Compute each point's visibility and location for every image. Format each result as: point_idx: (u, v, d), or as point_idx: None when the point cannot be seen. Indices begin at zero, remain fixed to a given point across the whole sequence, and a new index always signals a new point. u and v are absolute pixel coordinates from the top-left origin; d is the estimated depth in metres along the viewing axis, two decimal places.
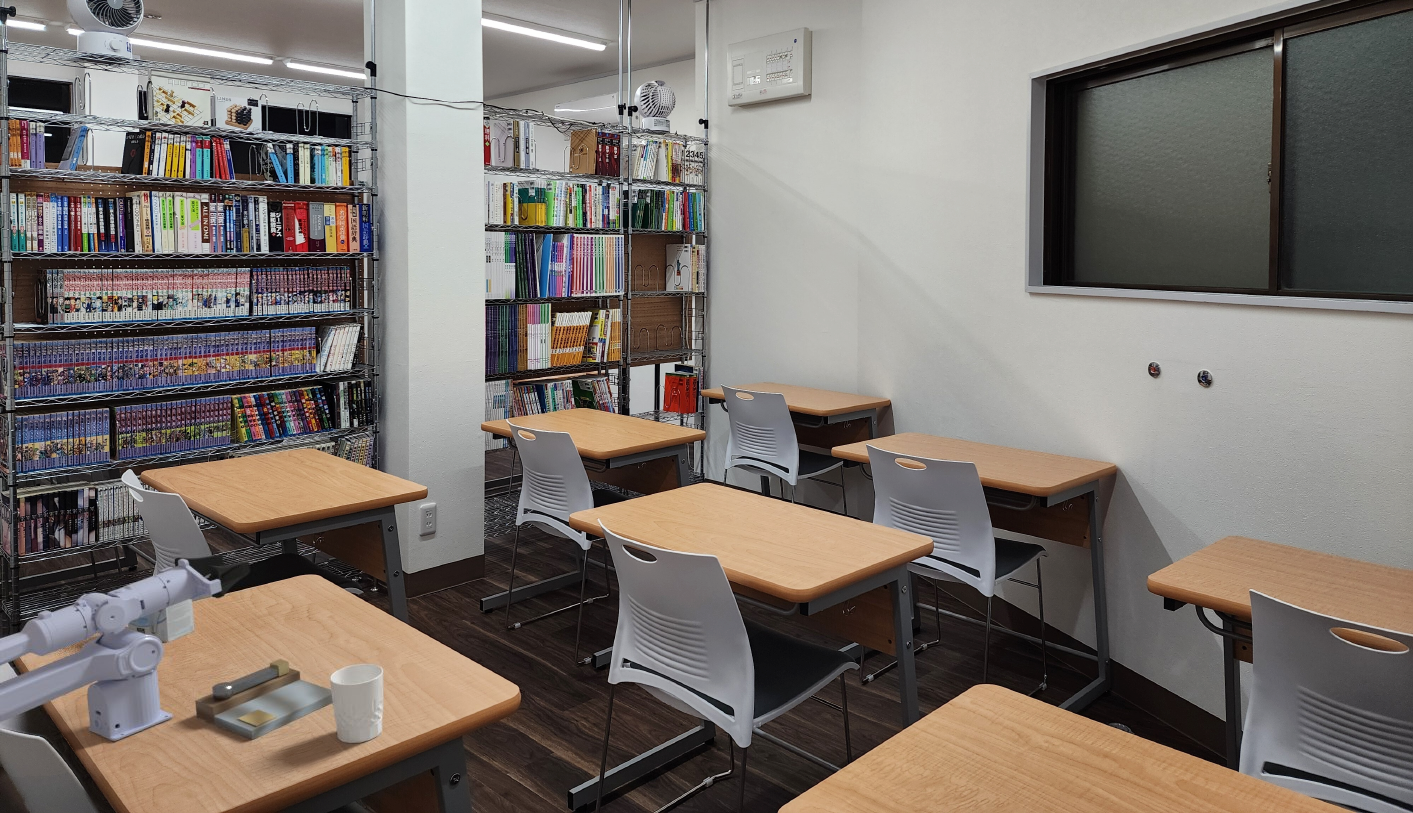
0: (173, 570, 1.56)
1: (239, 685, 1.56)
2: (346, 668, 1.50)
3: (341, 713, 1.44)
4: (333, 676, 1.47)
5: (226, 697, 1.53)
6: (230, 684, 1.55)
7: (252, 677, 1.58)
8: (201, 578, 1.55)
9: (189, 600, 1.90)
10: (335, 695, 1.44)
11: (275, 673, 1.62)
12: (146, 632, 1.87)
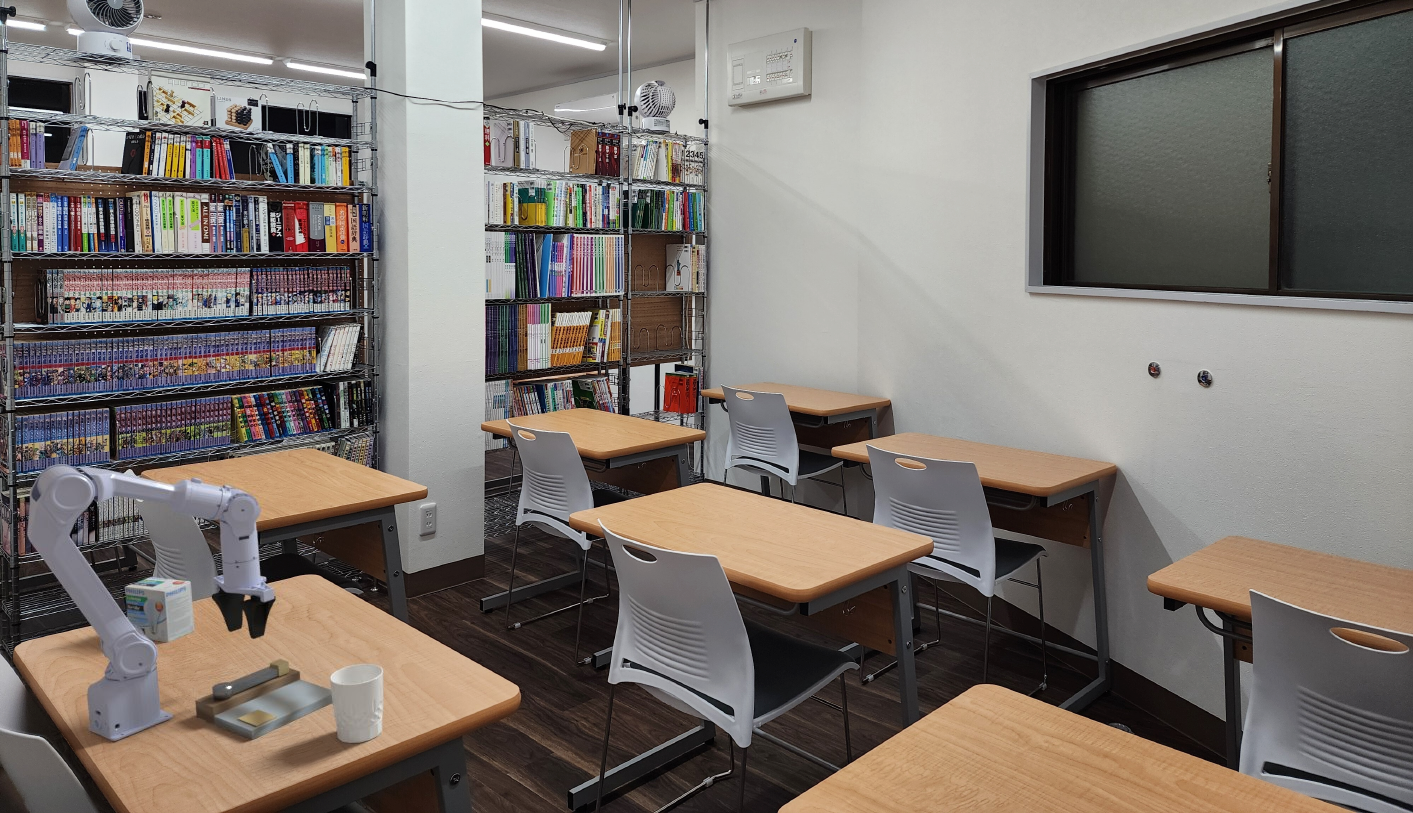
0: None
1: (239, 685, 1.56)
2: (346, 668, 1.50)
3: (341, 713, 1.44)
4: (333, 676, 1.47)
5: (226, 697, 1.53)
6: (230, 684, 1.55)
7: (252, 677, 1.58)
8: (267, 586, 1.60)
9: (189, 600, 1.90)
10: (335, 695, 1.44)
11: (275, 673, 1.62)
12: (146, 632, 1.87)
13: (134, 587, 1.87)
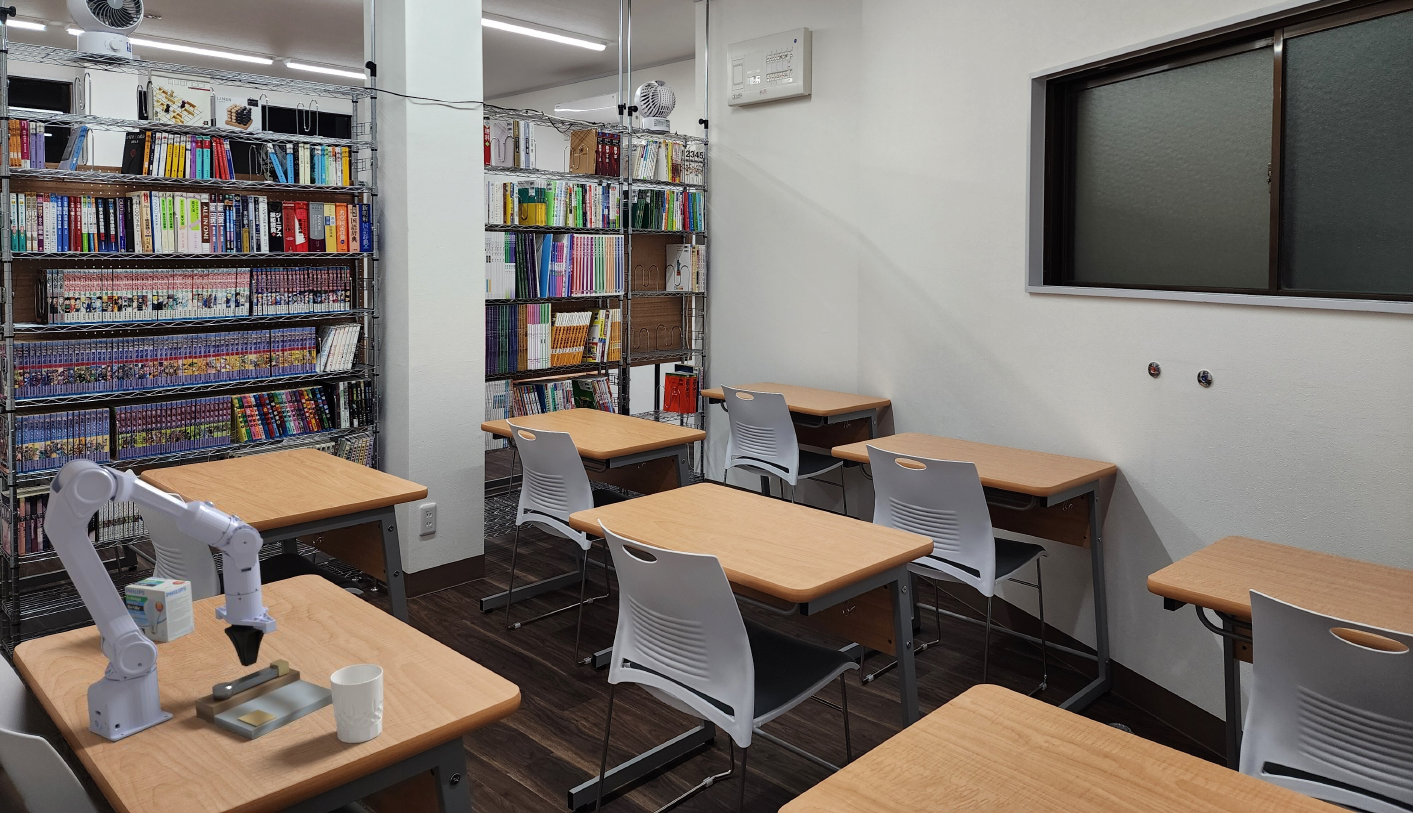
0: None
1: (239, 685, 1.56)
2: (346, 668, 1.50)
3: (341, 713, 1.44)
4: (333, 676, 1.47)
5: (226, 697, 1.53)
6: (230, 684, 1.55)
7: (252, 677, 1.58)
8: (270, 617, 1.61)
9: (189, 600, 1.90)
10: (335, 695, 1.44)
11: (275, 673, 1.62)
12: (146, 632, 1.87)
13: (134, 587, 1.87)
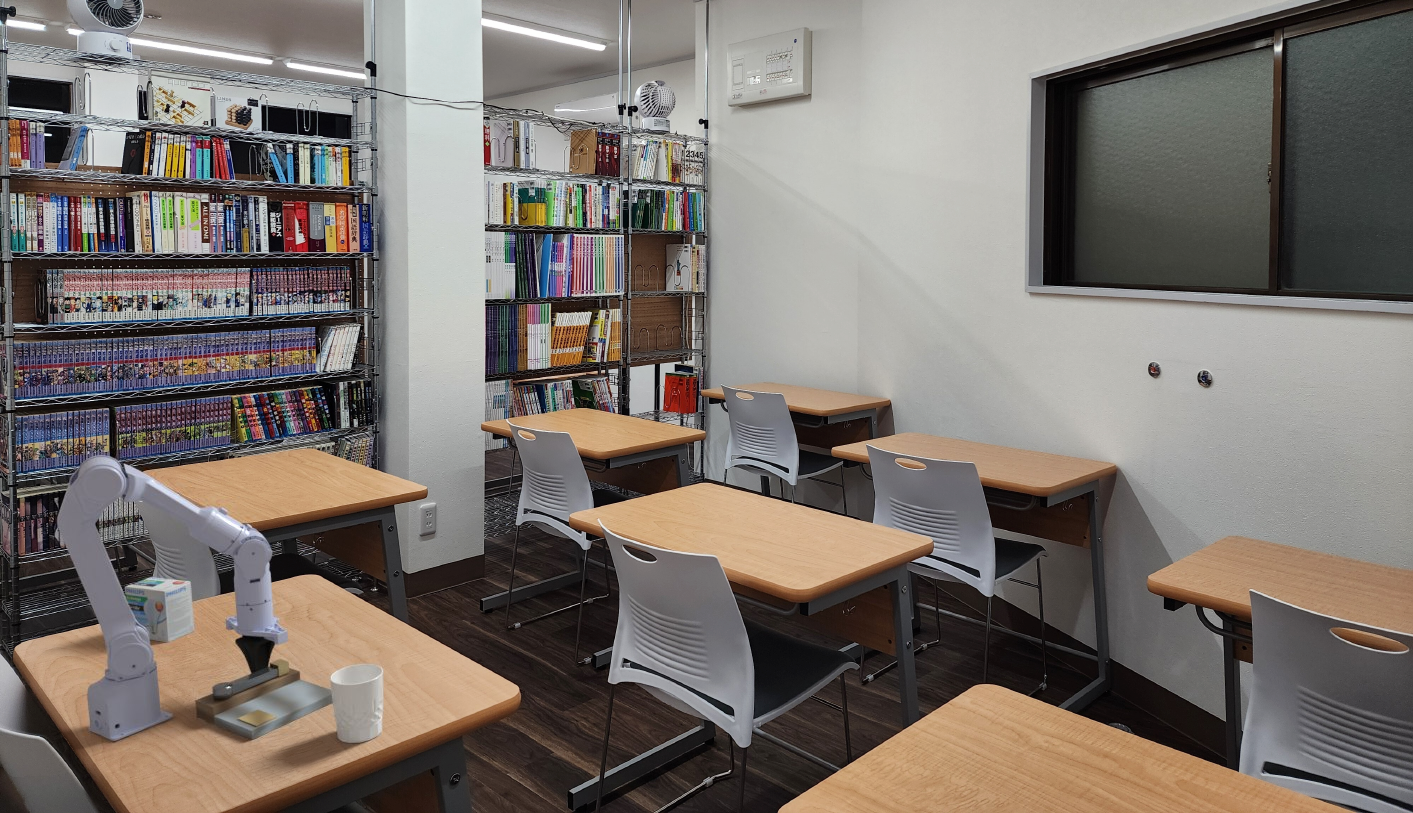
0: None
1: (239, 685, 1.56)
2: (346, 668, 1.50)
3: (341, 713, 1.44)
4: (333, 676, 1.47)
5: (226, 697, 1.53)
6: (230, 684, 1.55)
7: (252, 677, 1.58)
8: None
9: (189, 600, 1.90)
10: (335, 695, 1.44)
11: (275, 673, 1.62)
12: None
13: (134, 587, 1.87)
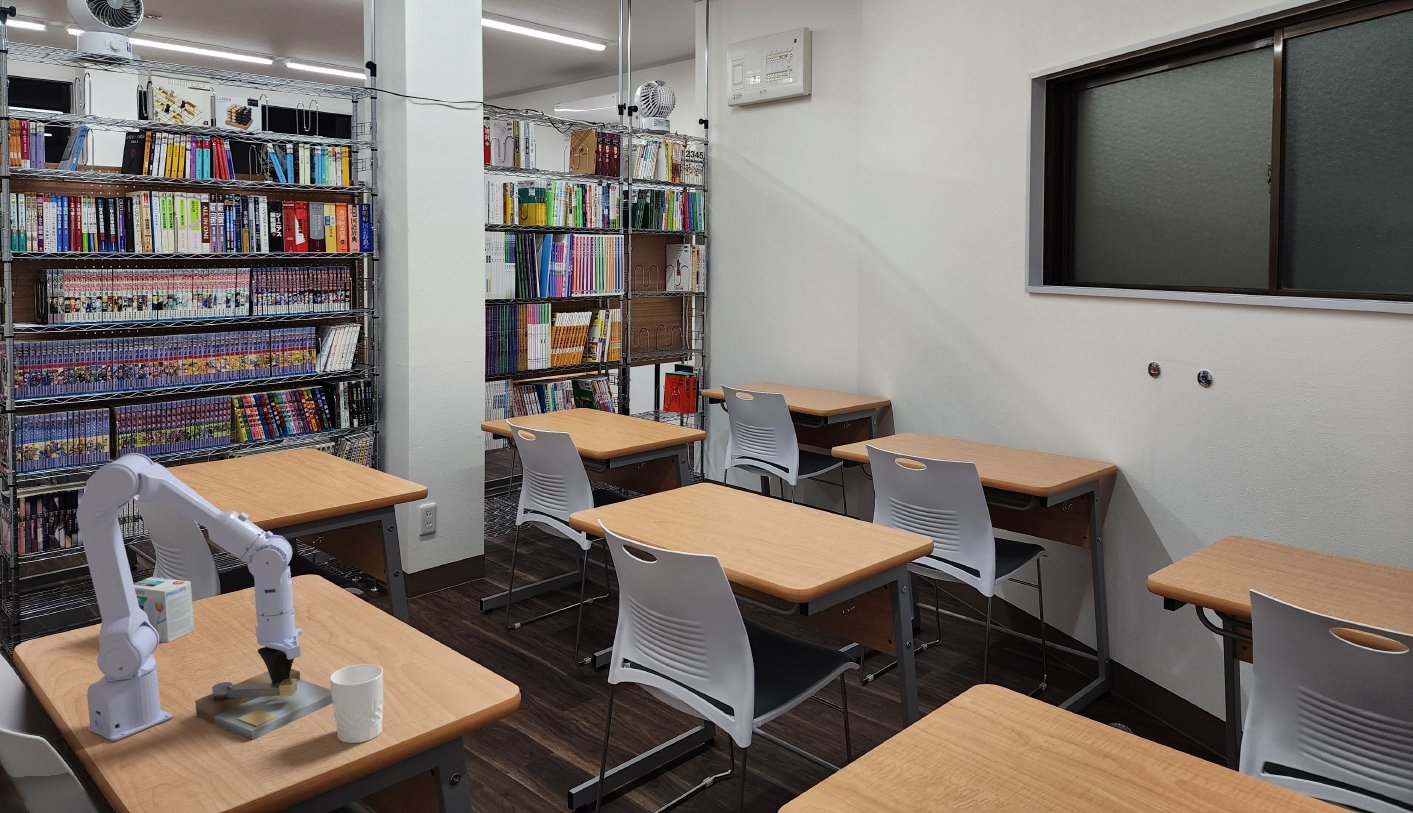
0: None
1: (235, 691, 1.54)
2: (346, 668, 1.50)
3: (341, 713, 1.44)
4: (333, 676, 1.47)
5: (217, 698, 1.53)
6: (227, 687, 1.54)
7: (252, 687, 1.54)
8: (297, 641, 1.54)
9: (189, 600, 1.90)
10: (335, 695, 1.44)
11: (277, 692, 1.54)
12: None
13: (134, 587, 1.87)
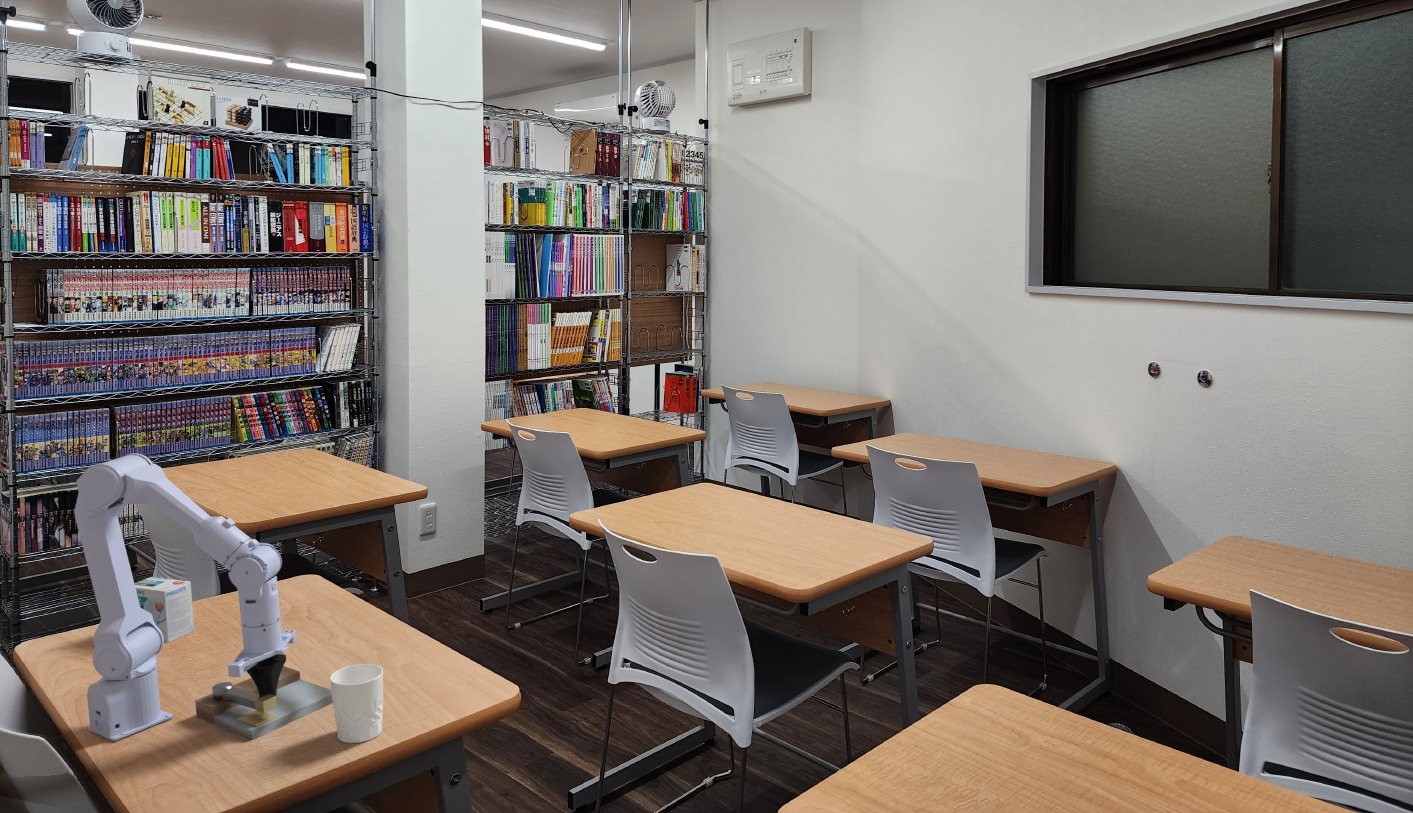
0: (277, 638, 1.50)
1: (226, 695, 1.52)
2: (346, 668, 1.50)
3: (341, 713, 1.44)
4: (333, 676, 1.47)
5: (213, 697, 1.53)
6: (223, 688, 1.53)
7: (239, 695, 1.52)
8: (252, 660, 1.46)
9: (189, 600, 1.90)
10: (335, 695, 1.44)
11: (254, 705, 1.50)
12: None
13: None
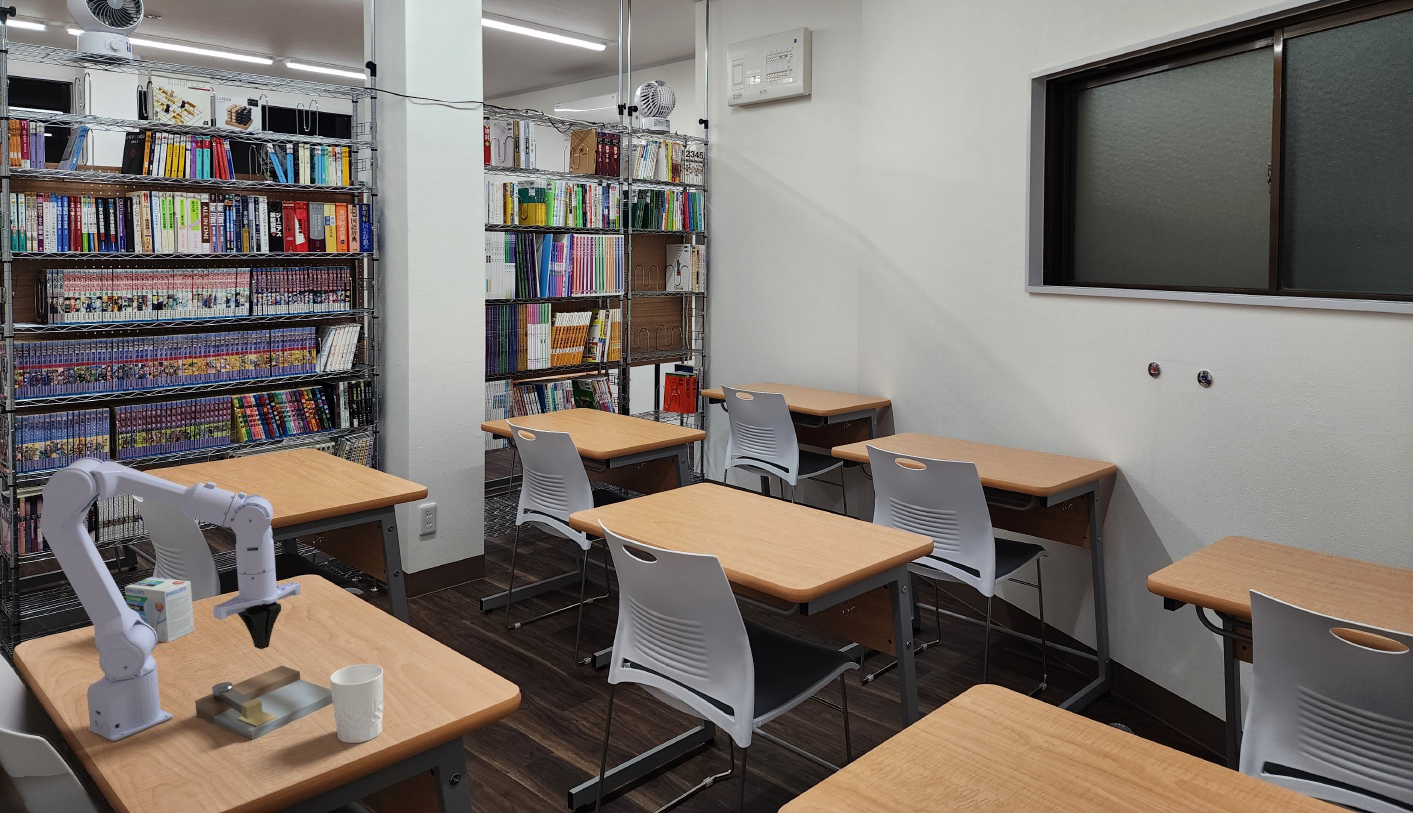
0: (266, 588, 1.54)
1: (222, 695, 1.52)
2: (346, 668, 1.50)
3: (341, 713, 1.44)
4: (333, 676, 1.47)
5: (213, 697, 1.54)
6: (221, 689, 1.53)
7: (232, 697, 1.51)
8: (236, 606, 1.51)
9: (189, 600, 1.90)
10: (335, 695, 1.44)
11: (241, 710, 1.48)
12: None
13: (134, 587, 1.87)
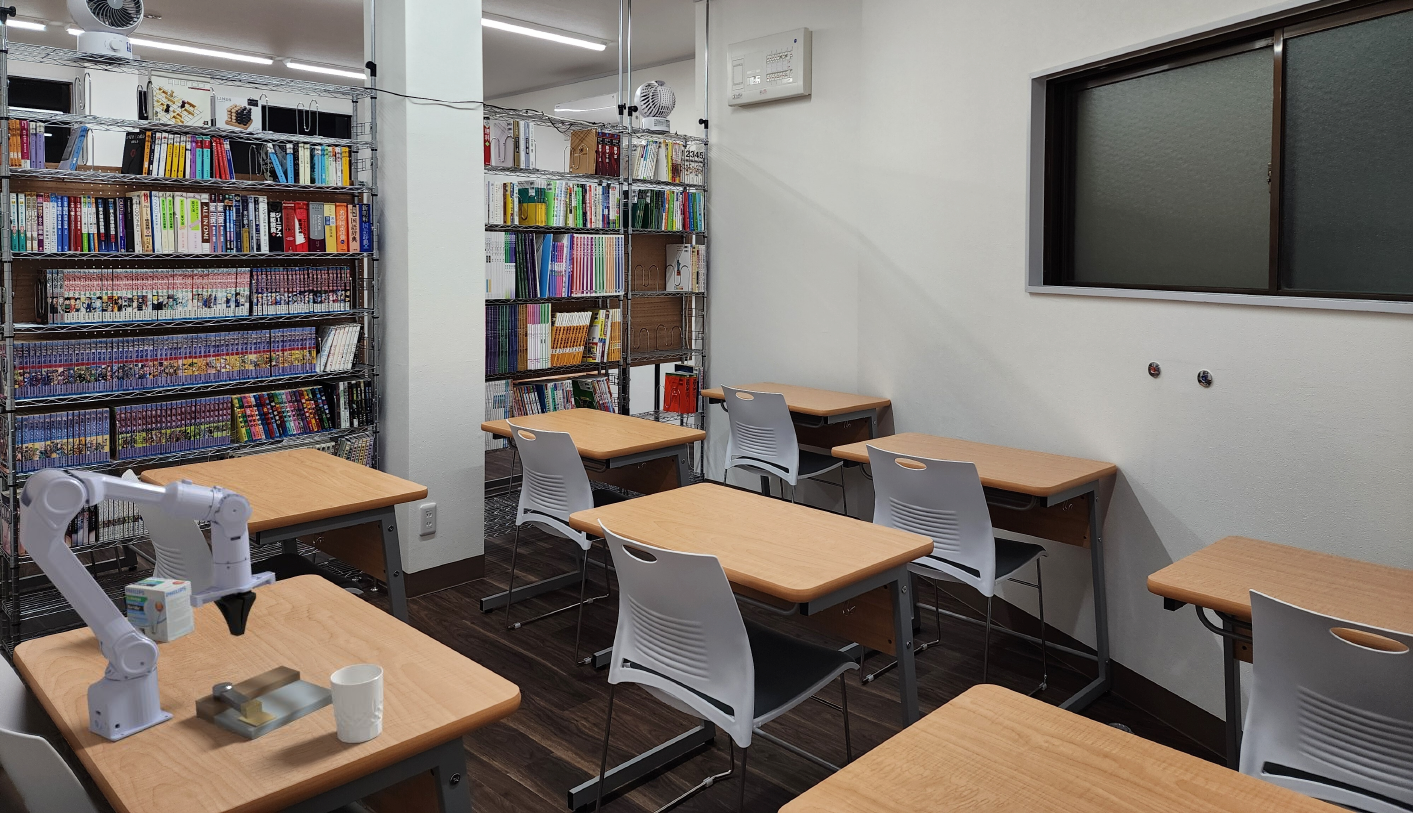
0: (241, 577, 1.59)
1: (222, 695, 1.52)
2: (346, 668, 1.50)
3: (341, 713, 1.44)
4: (333, 676, 1.47)
5: (213, 697, 1.54)
6: (221, 689, 1.53)
7: (232, 697, 1.51)
8: (212, 594, 1.56)
9: (189, 600, 1.90)
10: (335, 695, 1.44)
11: (241, 710, 1.48)
12: (146, 632, 1.87)
13: (134, 587, 1.87)
